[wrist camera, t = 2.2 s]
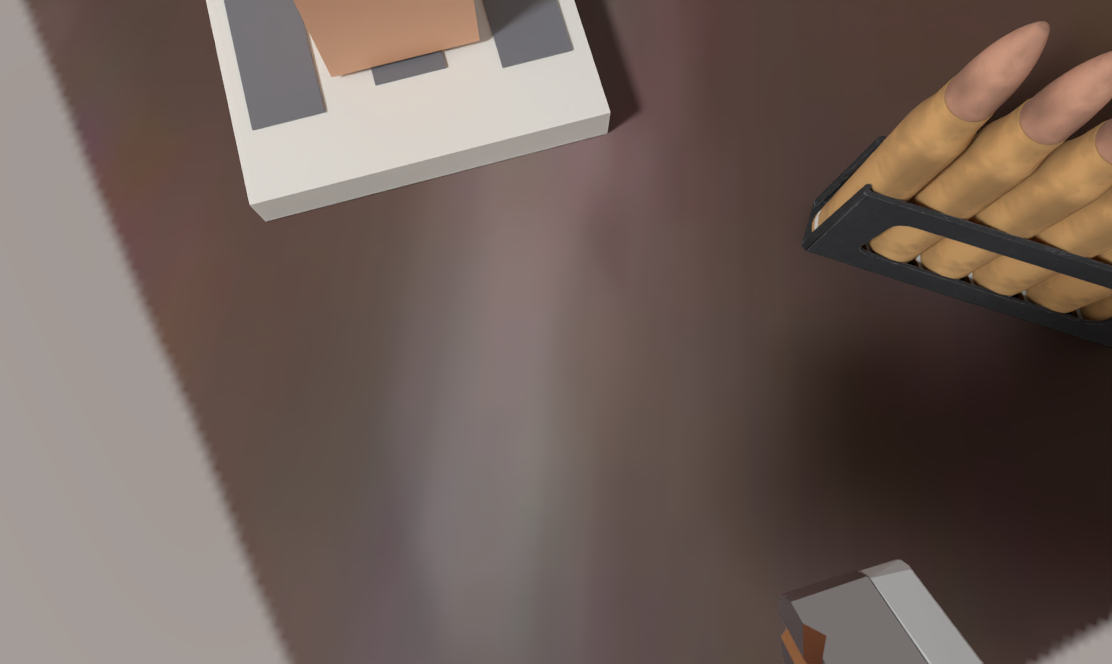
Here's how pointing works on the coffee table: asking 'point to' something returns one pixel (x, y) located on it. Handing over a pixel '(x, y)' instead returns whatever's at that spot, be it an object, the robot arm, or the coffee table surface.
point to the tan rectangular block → (385, 29)
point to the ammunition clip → (989, 194)
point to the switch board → (399, 102)
